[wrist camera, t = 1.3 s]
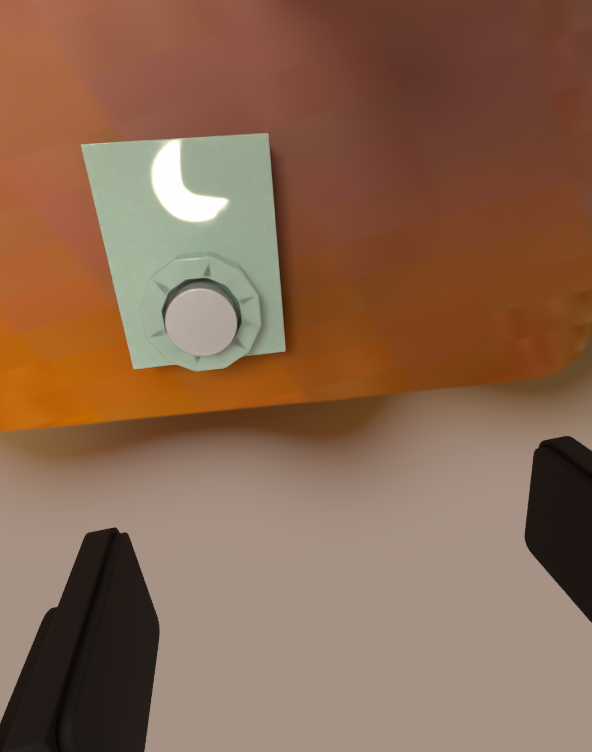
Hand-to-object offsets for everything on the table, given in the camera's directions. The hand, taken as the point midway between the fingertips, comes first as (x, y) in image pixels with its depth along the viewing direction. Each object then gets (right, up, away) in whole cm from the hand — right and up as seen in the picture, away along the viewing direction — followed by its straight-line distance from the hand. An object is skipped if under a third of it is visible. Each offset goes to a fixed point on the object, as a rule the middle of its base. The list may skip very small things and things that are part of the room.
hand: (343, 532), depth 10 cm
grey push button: (-7, +7, +17) cm, 19 cm away
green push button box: (-8, +12, +20) cm, 24 cm away
